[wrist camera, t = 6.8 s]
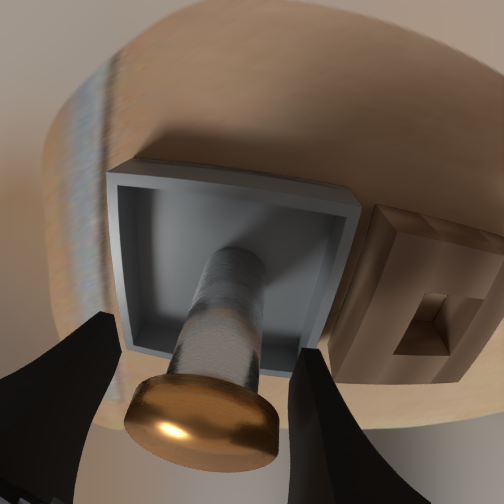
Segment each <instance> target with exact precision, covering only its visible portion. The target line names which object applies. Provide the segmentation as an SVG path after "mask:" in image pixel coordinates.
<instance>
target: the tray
mask: <svg viewBox="0 0 504 504" xmlns="http://www.w3.org/2000/svg"><path fill="white" fill-rule="evenodd" d="M106 176H107V202H108V218H109V232H110V243H111V253H112V262H113V270H114V278H115V285H116V292H117V299H118V305H119V312H120V317H121V323H122V329H123V334H124V339H125V344H126V349H128V350H132V351H136V352H140V353H144V354H148V355H153V356H157V357H162V358H166V359H171V358H172V355H173V352H174V350H175V347H176V344H177V341H178V338H179V336H180V333H181V330H182V327H183V324H184V322H185V319H186V316H187V313H188V311H189V308H190V305H191V303H192V300H193V297H194V294H195V292H196V289H197V286H198V284H199V281H200V278H201V276H202V273H203V271H204V268H205V265H206V263H207V261H208V259H209V257H210V256H211V255H212V254H213V253H215V252H216V251H218V250H220V249H222V248H226V247H240V248H244V249H247V250H249V251H251V252H253V253H254V254H256V255H257V256H258V257H259V258H260V259H261V261H262V262H263V264H264V266H265V269H266V287H265V302H264V316H263V330H262V344H261V358H260V371H259V374H260V375H268V376H276V377H286V378H291V376H292V373H293V370H294V368H295V365H296V362H297V359H298V357H299V354H300V351H301V348H302V347H304V348H314V349H316V347H317V344H318V342H319V339H320V336H321V334H322V331H323V328H324V326H325V323H326V320H327V317H328V315H329V312H330V309H331V306H332V303H333V301H334V298H335V295H336V292H337V289H338V286H339V283H340V280H341V277H342V274H343V271H344V268H345V265H346V261H347V258H348V255H349V252H350V249H351V245H352V242H353V239H354V235H355V232H356V229H357V225H358V222H359V218H360V214H361V211H362V206H361V205H360V203H359V202H358V200H357V199H356V197H355V196H354V195H353V193H352V192H351V190H350V189H349V188H348V187H343V186H338V185H333V184H327V183H322V182H317V181H311V180H306V179H300V178H294V177H288V176H282V175H276V174H270V173H263V172H256V171H249V170H242V169H235V168H227V167H219V166H211V165H202V164H193V163H184V162H173V161H162V160H150V159H137V158H131V159H129V160H128V161H126V162H124V163H122V164H120V165H118V166H117V167H115V168H113V169H111V170H109V171H108V172H106Z"/></svg>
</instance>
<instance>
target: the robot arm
mask: <svg viewBox="0 0 504 504" xmlns="http://www.w3.org/2000/svg"><path fill="white" fill-rule="evenodd" d="M121 353H122V351H121V347H120V342H119V337H118V333H117V328H116V323H115V317H114V315H113V314H109V313H105V312H101V311H100V312H98V313H97V314H96V315H94V316H93V317H92V318H90V319H89V320H88V321H86V322H85V323H84V324H83V325H81V326H80V327H79V328H78V329H76V330H75V331H74V332H73V333H71V334H70V335H69V336H67V337H66V338H65V339H63V340H62V341H61V342H60V343H58V344H57V345H56V346H54V347H53V348H52V349H50V350H49V351H47V352H46V353H44V354H43V355H41V356H40V357H39V358H37V359H36V360H34V361H33V362H31V363H29V364H28V365H26V366H25V367H23V368H21V369H19V370H17V371H16V372H14V373H12V374H10V375H8V376H6V377H4V378H2V379H0V504H73V496H74V488H75V482H76V477H77V472H78V467H79V462H80V458H81V455H82V451H83V447H84V443H85V440H86V437H87V434H88V431H89V428H90V425H91V423H92V420H93V418H94V416H95V414H96V411H97V409H98V407H99V405H100V403H101V401H102V399H103V397H104V395H105V393H106V391H107V388H108V386H109V384H110V382H111V380H112V378H113V376H114V373H115V371H116V368H117V365H118V362H119V359H120V356H121ZM288 422H289V440H290V460H291V461H290V463H291V464H290V468H291V469H290V482H289V494H288V504H431V502H429V501H428V500H427V499H425V498H424V497H423V496H422V495H420V494H419V493H418V492H417V491H415V490H414V489H413V488H412V487H411V486H410V485H409V484H407V483H406V482H405V481H404V480H403V479H402V478H401V477H400V476H399V475H398V474H397V473H396V472H395V471H394V470H393V468H392V467H391V466H390V465H389V464H388V463H387V462H386V461H385V460H384V458H383V457H382V456H381V455H380V454H379V453H378V451H377V450H376V449H375V448H374V446H373V445H372V444H371V442H370V441H369V440H368V438H367V437H366V435H365V434H364V433H363V431H362V430H361V428H360V427H359V425H358V424H357V422H356V420H355V419H354V417H353V415H352V414H351V412H350V410H349V409H348V407H347V405H346V403H345V402H344V400H343V398H342V396H341V394H340V392H339V390H338V388H337V386H336V384H335V382H334V380H333V378H332V376H331V374H330V372H329V370H328V367H327V365H326V363H325V361H324V358H323V356H322V354H321V351H320V350H319V349H314V348H304V347H302V348H301V351H300V354H299V357H298V359H297V362H296V365H295V368H294V370H293V373H292V376H291V379H290V381H289V393H288Z"/></svg>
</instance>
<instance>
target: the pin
mask: <svg viewBox="0 0 504 504" xmlns="http://www.w3.org/2000/svg"><path fill="white" fill-rule="evenodd" d="M265 287H266V269H265V266H264V264H263V262H262V261H261V259H260V258H259V257H258V256H257V255H256V254H254V253H253V252H251V251H249V250H247V249H244V248H240V247H226V248H222V249H220V250H218V251H216V252H215V253H213V254H212V255H211V256H210V257H209V259H208V261H207V263H206V265H205V268H204V271H203V273H202V276H201V278H200V281H199V284H198V286H197V289H196V292H195V294H194V297H193V300H192V303H191V305H190V308H189V311H188V313H187V316H186V319H185V322H184V324H183V327H182V330H181V333H180V336H179V338H178V341H177V344H176V347H175V350H174V352H173V355H172V358H171V361H170V364H169V367H168V370H167V373H166V374H163V375H158V376H154V377H151V378H149V379H147V380H145V381H143V382H142V383H141V384H139V385H138V387H137V388H136V390H135V393H134V395H133V398H132V400H131V403H130V405H129V408H128V411H127V413H126V416H125V419H124V426H125V429H126V431H127V432H128V434H129V435H130V436H131V438H132V439H133V440H134V441H135V442H137V443H138V444H139V445H140V446H142V447H143V448H144V449H146V450H147V451H149V452H151V453H152V454H154V455H156V456H158V457H160V458H163V459H165V460H167V461H170V462H172V463H175V464H178V465H181V466H185V467H189V468H193V469H197V470H203V471H210V472H225V473H229V472H244V471H250V470H255V469H258V468H261V467H264V466H266V465H268V464H269V463H271V462H272V461H273V460H275V458H276V457H277V455H278V451H279V449H278V448H279V416H278V413H277V411H276V410H275V408H274V407H273V406H272V405H271V404H270V403H269V402H268V401H267V400H266V399H264V398H263V397H261V396H260V395H258V384H259V371H260V358H261V344H262V330H263V316H264V302H265Z"/></svg>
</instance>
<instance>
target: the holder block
mask: <svg viewBox="0 0 504 504" xmlns="http://www.w3.org/2000/svg"><path fill="white" fill-rule="evenodd" d="M425 292H429V293H437V294H444V295H447V297H446V299H445V301H444V303H443V305H442V307H441V308H440V310H439V312H438V314H437V316H436V318H435V320H434V321H433V322H426V321H413V320H412V318H413V316H414V315H415V313H416V311H417V309H418V307H419V305H420V303H421V301H422V299H423V296H424V294H425ZM503 317H504V237H502V236H498V235H495V234H492V233H488V232H485V231H481V230H478V229H474V228H471V227H467V226H464V225H460V224H456V223H452V222H449V221H445V220H441V219H437V218H433V217H429V216H425V215H421V214H417V213H413V212H409V211H404V210H400V209H396V208H391V207H387V206H382V205H378V204H376V206H375V209H374V213H373V216H372V220H371V223H370V226H369V229H368V233H367V236H366V239H365V242H364V246H363V249H362V252H361V255H360V258H359V261H358V264H357V267H356V270H355V273H354V276H353V278H352V281H351V284H350V287H349V290H348V292H347V295H346V298H345V301H344V303H343V306H342V309H341V311H340V314H339V317H338V319H337V322H336V324H335V327H334V329H333V332H332V334H331V337H330V339H329V342H328V351H329V358H330V365H331V373H332V378H333V380H334V382H335V383H347V384H386V385H399V384H436V383H454V382H459V381H460V379H461V378H462V377H463V375H464V374H465V373H466V372H467V370H468V369H469V368H470V366H471V365H472V364H473V362H474V361H475V359H476V358H477V357H478V355H479V354H480V352H481V351H482V350H483V348H484V347H485V345H486V344H487V342H488V341H489V339H490V338H491V336H492V335H493V333H494V331H495V330H496V328H497V327H498V325H499V323H500V322H501V320H502V319H503Z"/></svg>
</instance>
